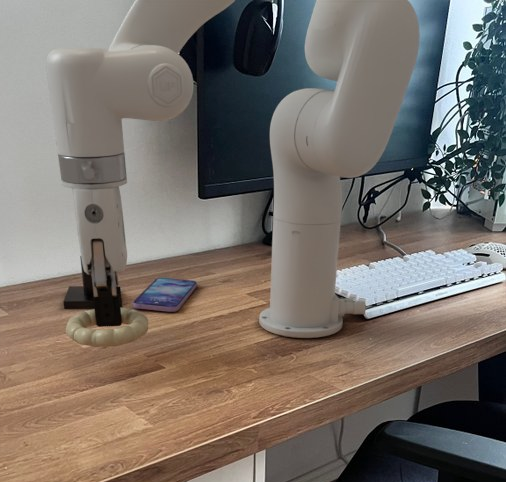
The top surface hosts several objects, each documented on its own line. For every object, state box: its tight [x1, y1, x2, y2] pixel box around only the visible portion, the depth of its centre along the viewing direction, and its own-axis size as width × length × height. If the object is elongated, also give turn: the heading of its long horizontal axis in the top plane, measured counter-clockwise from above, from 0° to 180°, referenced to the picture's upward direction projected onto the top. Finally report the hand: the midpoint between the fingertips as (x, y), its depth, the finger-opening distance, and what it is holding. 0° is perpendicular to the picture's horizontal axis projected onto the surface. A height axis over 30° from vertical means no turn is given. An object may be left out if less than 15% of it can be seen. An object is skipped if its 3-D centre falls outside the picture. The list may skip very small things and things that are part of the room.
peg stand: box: [63, 255, 119, 310], centre depth 110 cm, size 8×8×7 cm
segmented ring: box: [65, 307, 149, 348], centre depth 86 cm, size 10×10×2 cm
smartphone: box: [132, 277, 198, 313], centre depth 114 cm, size 7×1×15 cm
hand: (110, 320), depth 89 cm, fingers closed on segmented ring, 2 cm apart
